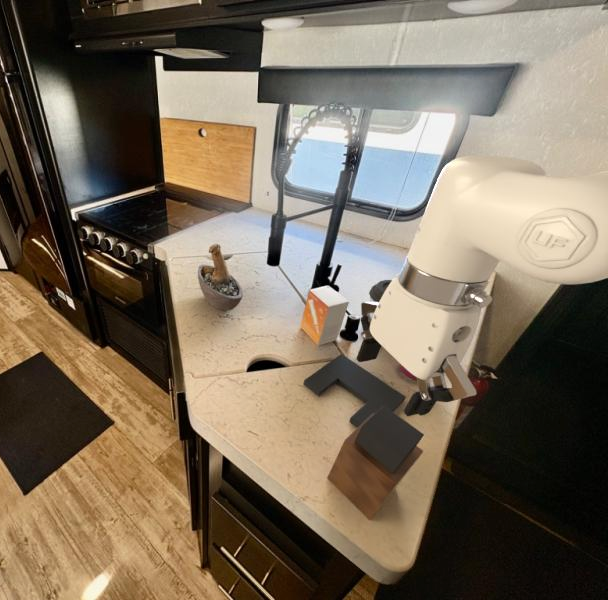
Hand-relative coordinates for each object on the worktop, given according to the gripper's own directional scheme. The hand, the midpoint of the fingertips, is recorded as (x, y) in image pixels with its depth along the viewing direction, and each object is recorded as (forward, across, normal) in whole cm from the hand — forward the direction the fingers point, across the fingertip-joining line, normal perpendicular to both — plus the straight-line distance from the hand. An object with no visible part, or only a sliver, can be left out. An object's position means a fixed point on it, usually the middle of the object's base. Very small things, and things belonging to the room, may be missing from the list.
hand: (388, 383), depth 44 cm
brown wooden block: (+22, -3, 0) cm, 22 cm away
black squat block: (+10, -4, 0) cm, 11 cm away
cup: (+22, +16, -28) cm, 39 cm away
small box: (+22, +33, -13) cm, 42 cm away
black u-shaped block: (+22, +14, -10) cm, 28 cm away
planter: (+21, +54, +10) cm, 59 cm away
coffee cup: (+22, +29, -29) cm, 46 cm away
